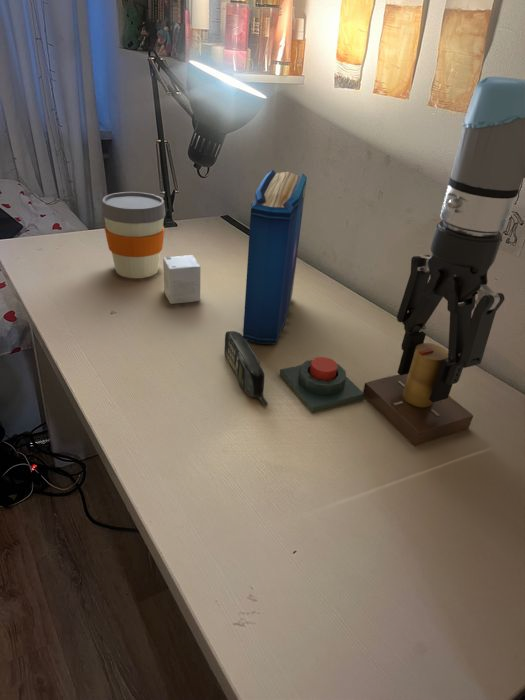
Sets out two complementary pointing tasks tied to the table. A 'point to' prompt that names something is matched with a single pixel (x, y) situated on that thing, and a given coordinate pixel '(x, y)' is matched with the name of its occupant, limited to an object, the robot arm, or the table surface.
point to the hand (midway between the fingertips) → (421, 384)
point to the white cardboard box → (181, 279)
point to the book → (272, 254)
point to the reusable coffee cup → (134, 232)
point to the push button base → (320, 388)
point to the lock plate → (415, 411)
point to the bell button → (323, 368)
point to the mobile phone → (245, 365)
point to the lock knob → (423, 374)
